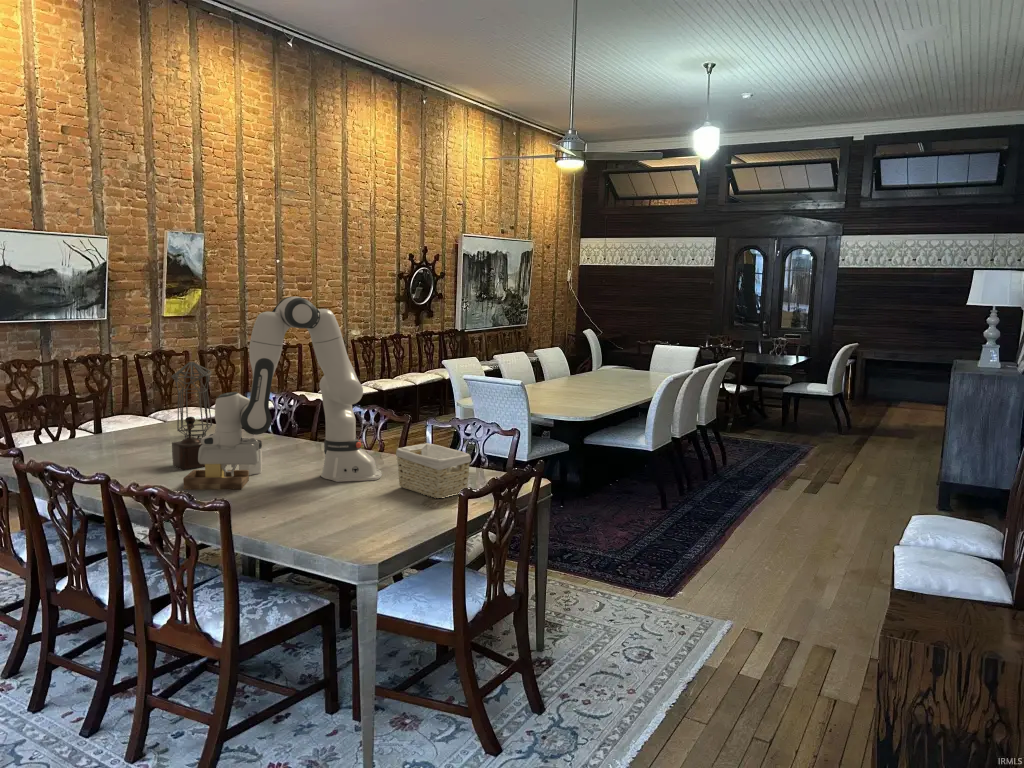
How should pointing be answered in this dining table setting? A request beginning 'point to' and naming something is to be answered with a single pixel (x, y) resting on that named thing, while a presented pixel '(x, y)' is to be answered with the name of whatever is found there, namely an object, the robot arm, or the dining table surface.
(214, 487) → the wooden tray
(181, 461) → the dark brown knobbed box
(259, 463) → the jar
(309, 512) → the dining table surface
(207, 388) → the geometric lantern
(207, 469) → the block
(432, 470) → the storage basket
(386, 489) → the dining table surface
